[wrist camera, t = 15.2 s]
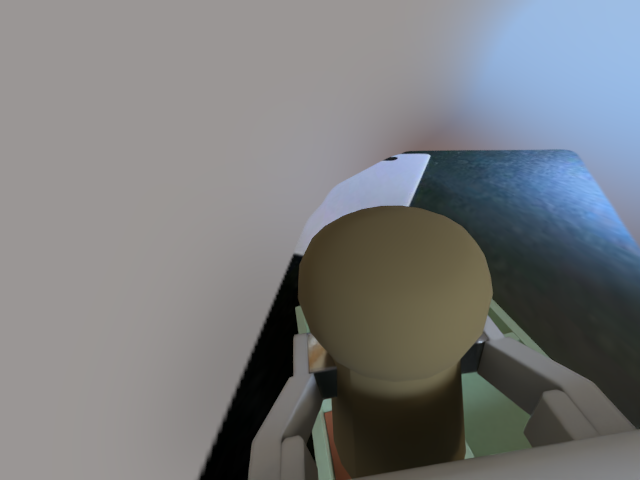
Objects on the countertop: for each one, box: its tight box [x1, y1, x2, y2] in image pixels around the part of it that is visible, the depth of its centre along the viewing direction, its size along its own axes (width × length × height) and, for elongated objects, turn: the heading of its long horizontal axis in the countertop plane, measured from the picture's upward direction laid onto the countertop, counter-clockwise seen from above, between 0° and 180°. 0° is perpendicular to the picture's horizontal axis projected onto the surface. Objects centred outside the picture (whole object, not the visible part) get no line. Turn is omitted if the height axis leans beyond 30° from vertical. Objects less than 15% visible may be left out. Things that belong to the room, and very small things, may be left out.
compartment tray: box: [295, 299, 549, 480], centre depth 23 cm, size 18×18×4 cm
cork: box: [298, 206, 493, 479], centre depth 10 cm, size 6×6×11 cm
